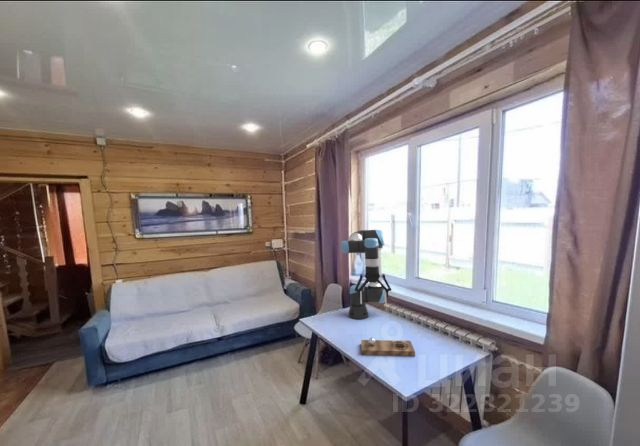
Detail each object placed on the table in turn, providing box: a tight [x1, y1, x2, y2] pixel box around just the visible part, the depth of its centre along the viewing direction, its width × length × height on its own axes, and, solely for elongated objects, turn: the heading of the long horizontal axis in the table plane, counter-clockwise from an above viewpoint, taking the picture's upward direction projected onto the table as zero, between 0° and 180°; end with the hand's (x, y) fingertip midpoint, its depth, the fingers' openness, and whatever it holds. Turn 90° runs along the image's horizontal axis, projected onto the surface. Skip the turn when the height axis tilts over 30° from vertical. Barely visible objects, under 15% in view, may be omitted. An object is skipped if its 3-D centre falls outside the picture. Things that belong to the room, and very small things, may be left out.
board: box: [360, 339, 416, 357], centre depth 149 cm, size 28×12×2 cm, turn 83°
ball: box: [368, 337, 376, 346], centre depth 150 cm, size 4×4×4 cm
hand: (373, 303), depth 150 cm, fingers open, 13 cm apart
